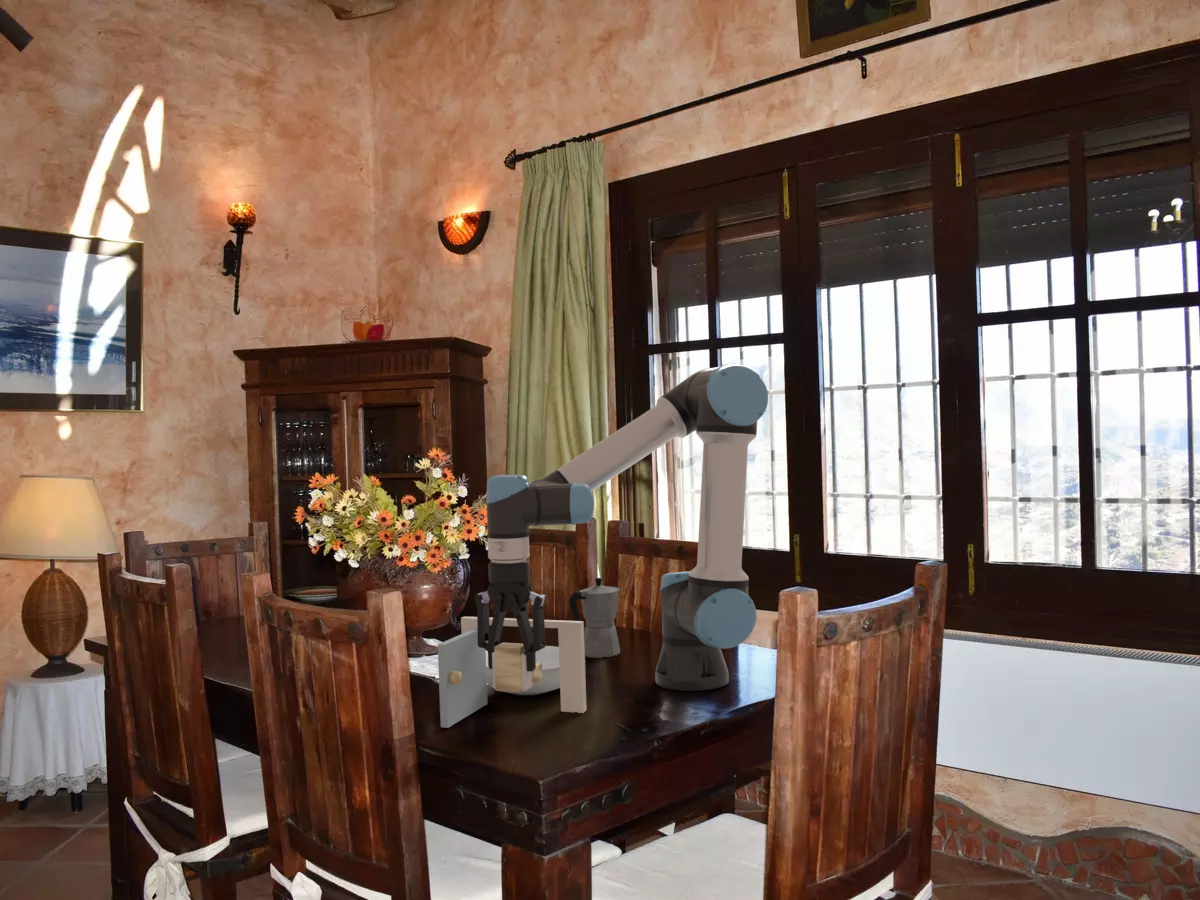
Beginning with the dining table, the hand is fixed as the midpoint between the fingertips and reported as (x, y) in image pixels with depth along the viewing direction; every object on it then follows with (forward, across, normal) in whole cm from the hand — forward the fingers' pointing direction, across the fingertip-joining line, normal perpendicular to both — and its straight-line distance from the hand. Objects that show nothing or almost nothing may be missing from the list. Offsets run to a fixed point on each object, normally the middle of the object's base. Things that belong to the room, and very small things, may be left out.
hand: (512, 687), depth 178 cm
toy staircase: (0, 0, +3) cm, 3 cm away
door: (+6, -10, +2) cm, 12 cm away
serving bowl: (+7, -7, +22) cm, 24 cm away
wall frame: (+7, -2, +10) cm, 12 cm away
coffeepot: (+7, -4, +54) cm, 55 cm away
